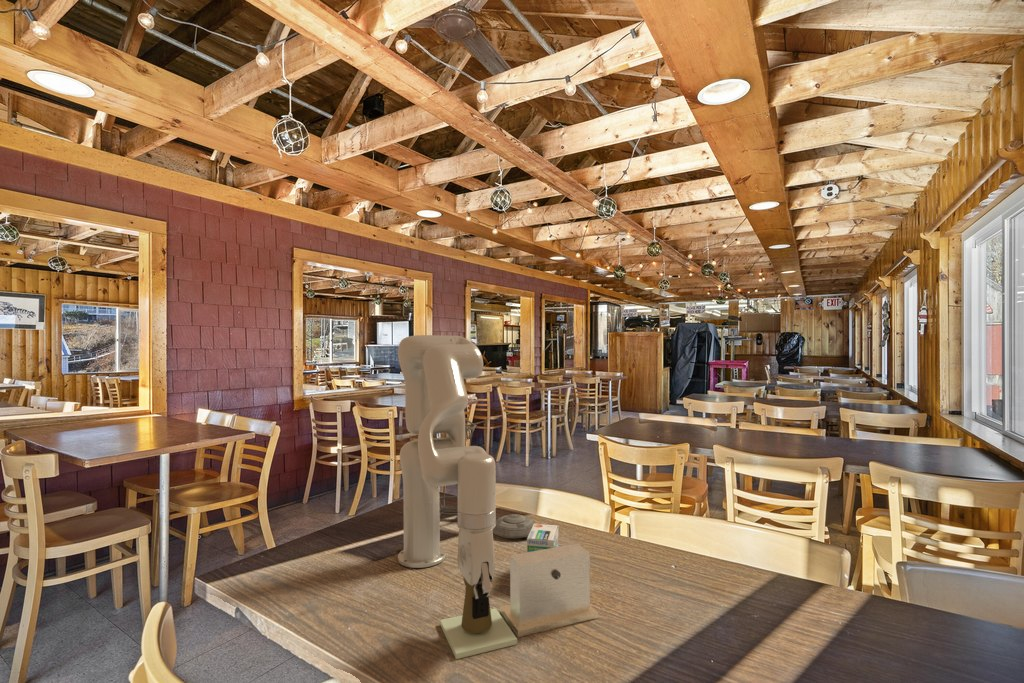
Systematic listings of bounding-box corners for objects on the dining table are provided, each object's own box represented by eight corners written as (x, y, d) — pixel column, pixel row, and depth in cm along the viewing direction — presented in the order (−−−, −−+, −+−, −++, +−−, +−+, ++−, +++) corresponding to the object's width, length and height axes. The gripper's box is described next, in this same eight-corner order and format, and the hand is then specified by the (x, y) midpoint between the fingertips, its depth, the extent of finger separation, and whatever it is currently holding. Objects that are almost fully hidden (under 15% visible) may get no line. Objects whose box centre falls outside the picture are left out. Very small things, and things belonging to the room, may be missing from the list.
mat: (440, 624, 101) (440, 619, 101) (495, 612, 105) (495, 608, 105) (456, 659, 90) (456, 653, 90) (517, 644, 94) (517, 638, 94)
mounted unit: (500, 611, 106) (499, 549, 106) (574, 595, 112) (574, 537, 112) (518, 637, 96) (517, 569, 96) (597, 617, 103) (597, 554, 103)
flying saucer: (539, 542, 143) (539, 523, 143) (488, 542, 144) (488, 523, 144) (538, 524, 158) (538, 506, 158) (491, 524, 159) (491, 506, 159)
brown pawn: (461, 616, 101) (461, 562, 101) (491, 615, 101) (491, 561, 101) (461, 633, 95) (460, 576, 95) (492, 632, 95) (492, 574, 95)
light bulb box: (554, 586, 117) (554, 540, 117) (526, 583, 118) (526, 538, 118) (559, 566, 127) (559, 524, 127) (533, 564, 129) (533, 522, 129)
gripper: (447, 507, 104) (447, 595, 104) (470, 535, 89) (471, 638, 89) (481, 503, 107) (481, 588, 107) (509, 529, 91) (510, 629, 91)
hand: (476, 610), depth 98 cm, fingers closed on brown pawn, 3 cm apart
